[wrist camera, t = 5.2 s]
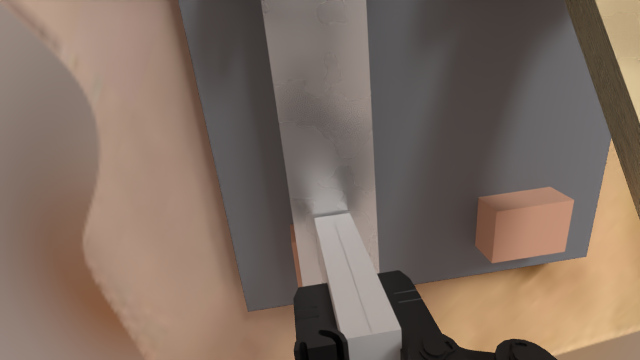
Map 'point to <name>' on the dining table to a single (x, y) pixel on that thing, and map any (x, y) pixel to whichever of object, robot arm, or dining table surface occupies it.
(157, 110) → the dining table surface
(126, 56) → the dining table surface
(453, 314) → the dining table surface
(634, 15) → the brass strap
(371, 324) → the robot arm
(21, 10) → the dining table surface
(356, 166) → the steel strap
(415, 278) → the mount plate
